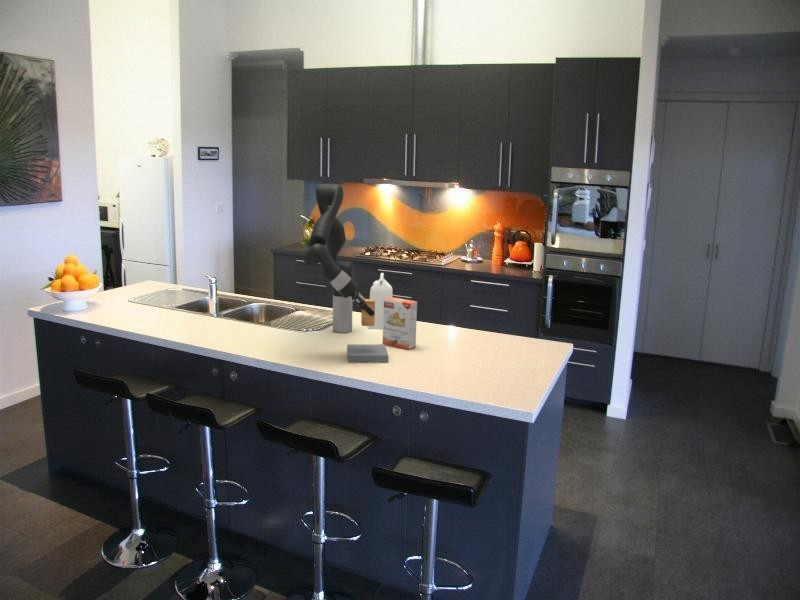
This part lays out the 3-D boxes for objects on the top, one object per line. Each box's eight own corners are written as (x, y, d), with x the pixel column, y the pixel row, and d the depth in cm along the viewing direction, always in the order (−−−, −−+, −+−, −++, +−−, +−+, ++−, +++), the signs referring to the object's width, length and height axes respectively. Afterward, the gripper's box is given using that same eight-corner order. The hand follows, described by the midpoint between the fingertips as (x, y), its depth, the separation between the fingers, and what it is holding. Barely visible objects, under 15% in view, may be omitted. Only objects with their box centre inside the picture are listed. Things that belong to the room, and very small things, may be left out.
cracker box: (381, 344, 296) (383, 298, 292) (389, 341, 301) (390, 296, 297) (408, 350, 289) (410, 303, 285) (415, 347, 294) (417, 300, 290)
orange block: (361, 322, 277) (361, 299, 275) (373, 323, 278) (374, 299, 276) (362, 325, 272) (362, 301, 270) (374, 325, 273) (375, 301, 271)
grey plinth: (347, 351, 285) (347, 344, 284) (384, 351, 286) (384, 344, 286) (348, 362, 269) (348, 355, 268) (388, 362, 271) (388, 355, 270)
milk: (392, 329, 323) (393, 276, 317) (368, 329, 323) (369, 275, 317) (392, 323, 334) (394, 272, 329) (369, 322, 334) (370, 271, 329)
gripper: (351, 280, 263) (380, 311, 267) (349, 274, 277) (377, 303, 281) (337, 293, 264) (367, 323, 267) (336, 287, 277) (364, 315, 281)
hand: (372, 313), depth 274 cm, fingers closed on orange block, 5 cm apart
